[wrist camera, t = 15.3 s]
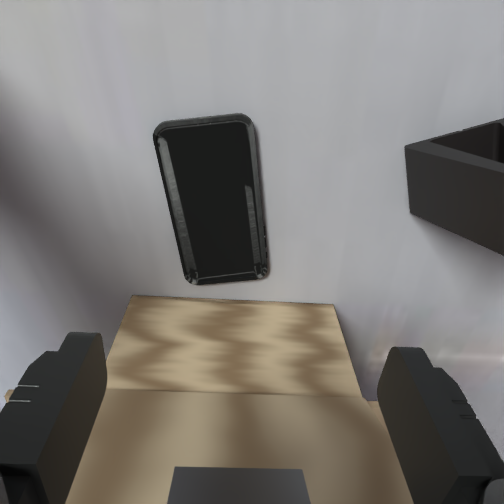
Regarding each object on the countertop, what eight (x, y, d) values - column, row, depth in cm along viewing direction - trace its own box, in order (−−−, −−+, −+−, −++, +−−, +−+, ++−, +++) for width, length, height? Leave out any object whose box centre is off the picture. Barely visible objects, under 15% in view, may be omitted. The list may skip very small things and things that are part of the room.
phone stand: (520, 113, 30) (663, 162, 20) (515, 184, 33) (637, 258, 23) (403, 145, 31) (481, 207, 21) (408, 210, 34) (478, 293, 24)
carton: (91, 412, 47) (50, 519, 37) (66, 292, 38) (2, 391, 28) (356, 419, 49) (386, 524, 39) (394, 307, 40) (445, 405, 30)
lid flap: (-149, 749, 10) (-174, 528, 9) (93, 396, 28) (93, 308, 27) (566, 736, 11) (610, 538, 10) (363, 405, 29) (373, 320, 28)
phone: (186, 286, 37) (149, 124, 29) (188, 279, 38) (152, 121, 30) (269, 278, 37) (254, 113, 29) (268, 271, 38) (253, 110, 30)
